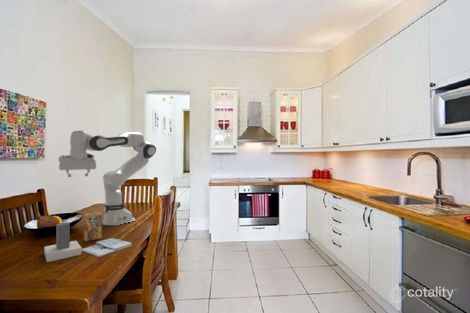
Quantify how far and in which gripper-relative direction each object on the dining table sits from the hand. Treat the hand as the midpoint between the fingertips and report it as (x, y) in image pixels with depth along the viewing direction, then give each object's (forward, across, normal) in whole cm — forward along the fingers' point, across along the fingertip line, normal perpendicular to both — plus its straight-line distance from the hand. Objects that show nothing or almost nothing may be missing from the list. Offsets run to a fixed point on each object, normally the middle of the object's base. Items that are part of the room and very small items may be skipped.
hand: (78, 176), depth 157 cm
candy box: (+37, +5, -18) cm, 42 cm away
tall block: (+34, -12, -33) cm, 49 cm away
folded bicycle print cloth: (+38, +7, -38) cm, 54 cm away
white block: (+37, -12, -33) cm, 51 cm away
